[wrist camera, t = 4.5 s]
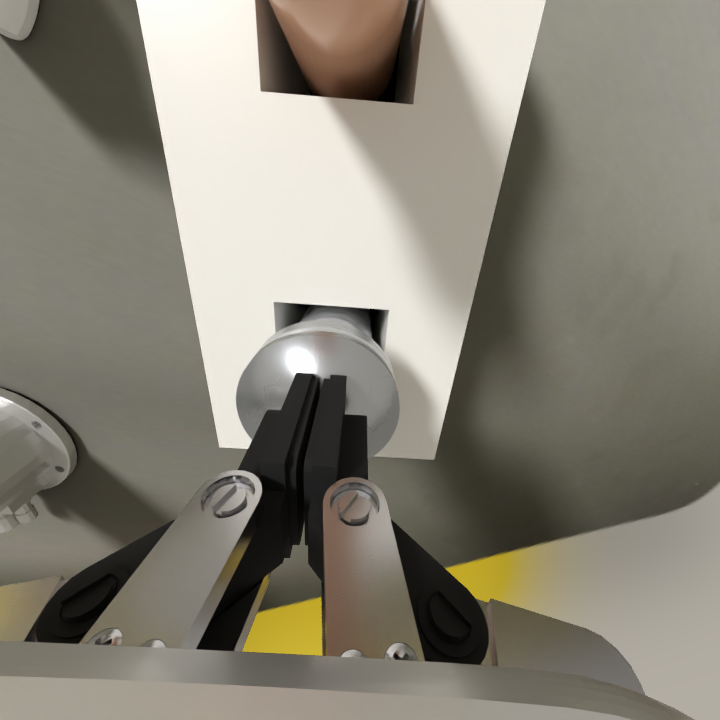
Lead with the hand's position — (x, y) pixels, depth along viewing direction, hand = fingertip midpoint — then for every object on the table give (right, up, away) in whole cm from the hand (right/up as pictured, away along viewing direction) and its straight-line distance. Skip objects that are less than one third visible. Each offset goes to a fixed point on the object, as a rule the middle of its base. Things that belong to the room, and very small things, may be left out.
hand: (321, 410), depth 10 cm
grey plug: (0, +6, +13) cm, 14 cm away
